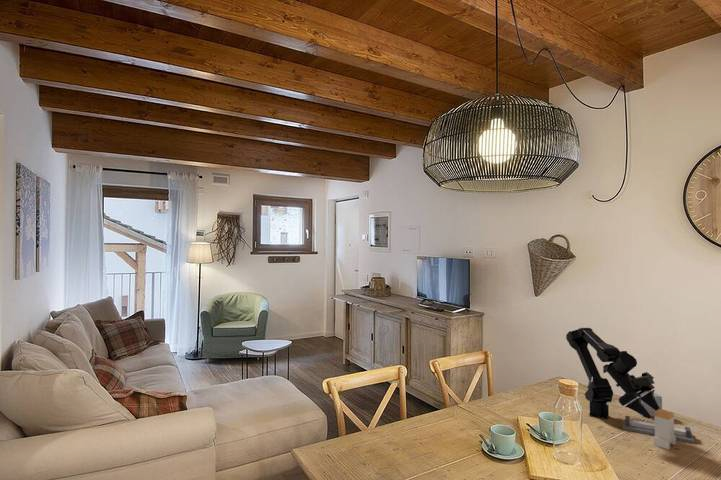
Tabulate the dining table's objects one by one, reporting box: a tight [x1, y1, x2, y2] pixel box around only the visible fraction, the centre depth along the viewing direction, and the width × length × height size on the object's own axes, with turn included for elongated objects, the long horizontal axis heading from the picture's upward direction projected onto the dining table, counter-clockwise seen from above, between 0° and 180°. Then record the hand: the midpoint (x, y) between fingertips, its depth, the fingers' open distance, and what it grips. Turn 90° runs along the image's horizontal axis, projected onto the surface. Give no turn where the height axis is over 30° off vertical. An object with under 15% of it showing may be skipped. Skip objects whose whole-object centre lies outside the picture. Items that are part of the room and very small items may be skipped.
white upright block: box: [652, 408, 677, 450], centre depth 150 cm, size 4×8×12 cm, turn 126°
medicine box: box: [637, 392, 663, 417], centre depth 176 cm, size 8×4×9 cm, turn 84°
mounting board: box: [622, 415, 695, 444], centre depth 160 cm, size 22×8×3 cm, turn 56°
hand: (655, 415), depth 152 cm, fingers open, 9 cm apart
